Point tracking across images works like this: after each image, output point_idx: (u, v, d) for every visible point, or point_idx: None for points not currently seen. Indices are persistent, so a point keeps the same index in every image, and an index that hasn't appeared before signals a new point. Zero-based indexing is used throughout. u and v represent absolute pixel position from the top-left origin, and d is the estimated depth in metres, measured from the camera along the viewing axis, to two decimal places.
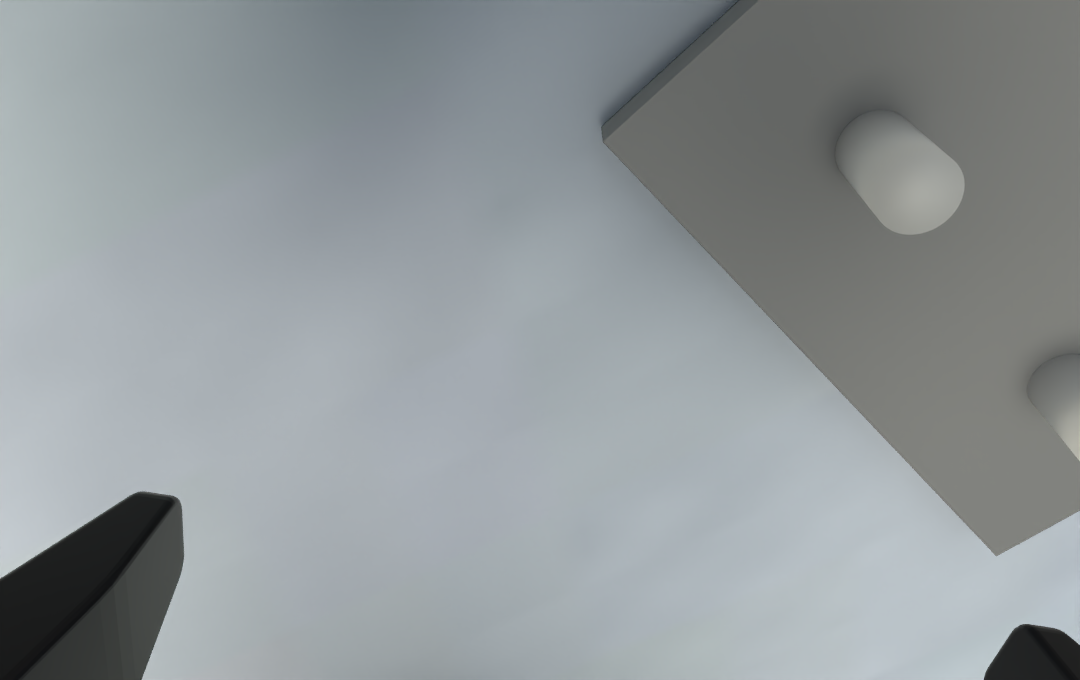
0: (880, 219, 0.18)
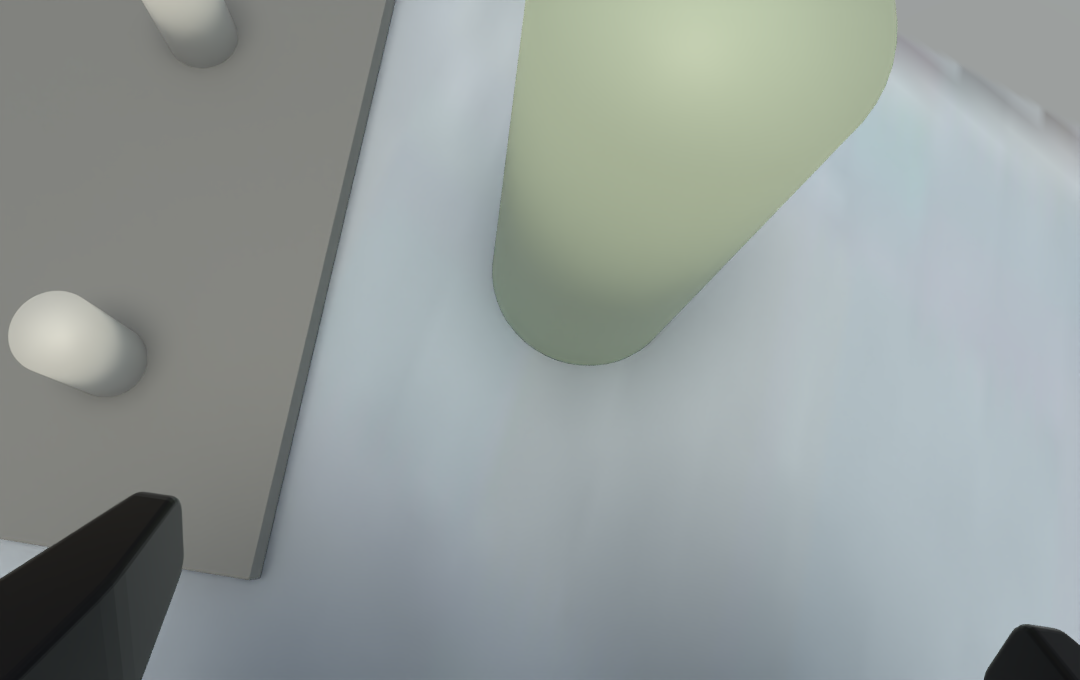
0: None
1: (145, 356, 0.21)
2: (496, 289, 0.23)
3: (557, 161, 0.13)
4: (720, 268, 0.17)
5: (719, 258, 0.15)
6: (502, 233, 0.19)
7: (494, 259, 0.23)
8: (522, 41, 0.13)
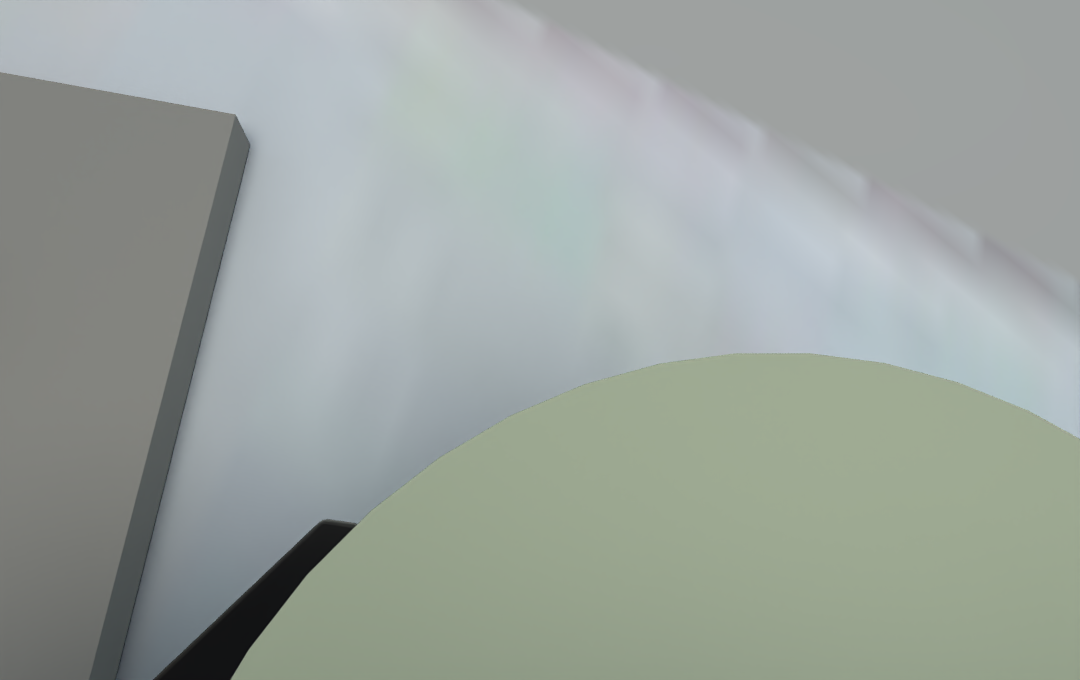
0: None
1: None
2: None
3: None
4: None
5: None
6: None
7: None
8: None
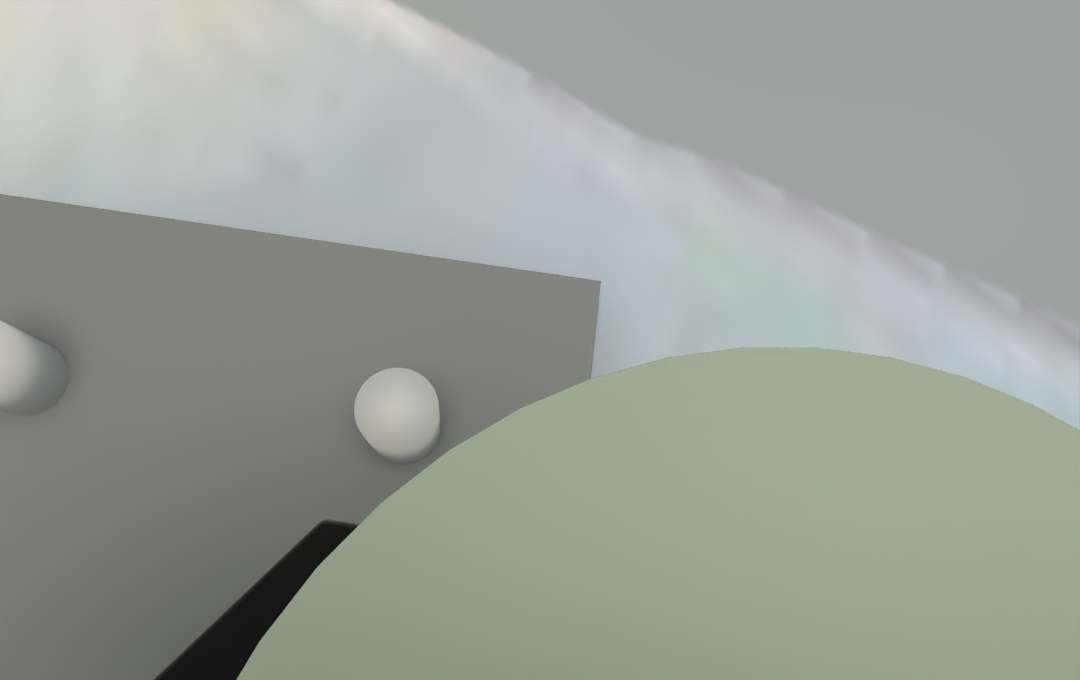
0: None
1: None
2: None
3: None
4: None
5: None
6: None
7: None
8: None
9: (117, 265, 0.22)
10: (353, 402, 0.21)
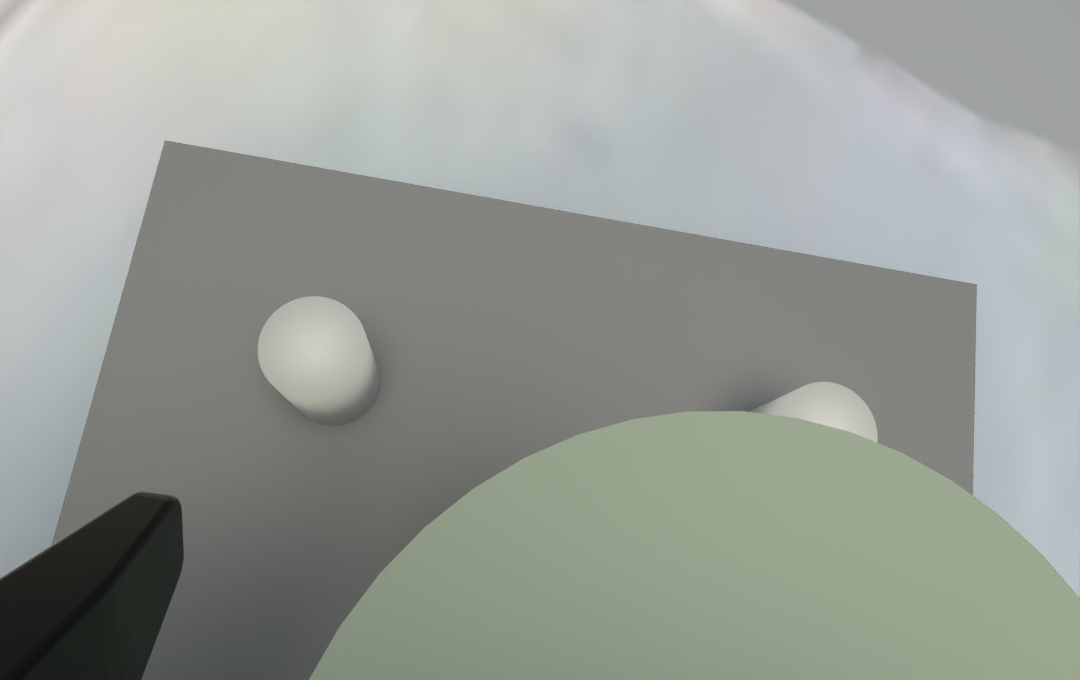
0: None
1: None
2: None
3: None
4: None
5: None
6: None
7: None
8: None
9: (428, 249, 0.18)
10: None
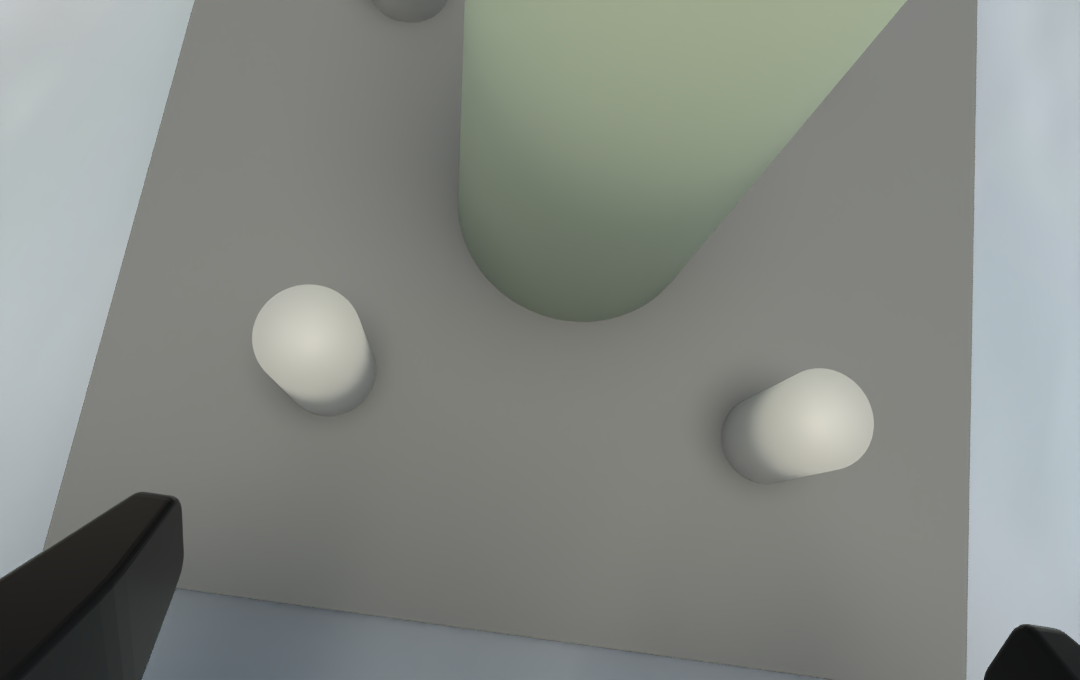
0: (294, 386, 0.14)
1: None
2: (463, 224, 0.18)
3: None
4: (775, 153, 0.12)
5: (785, 118, 0.10)
6: (465, 128, 0.14)
7: (459, 182, 0.17)
8: None
9: None
10: None
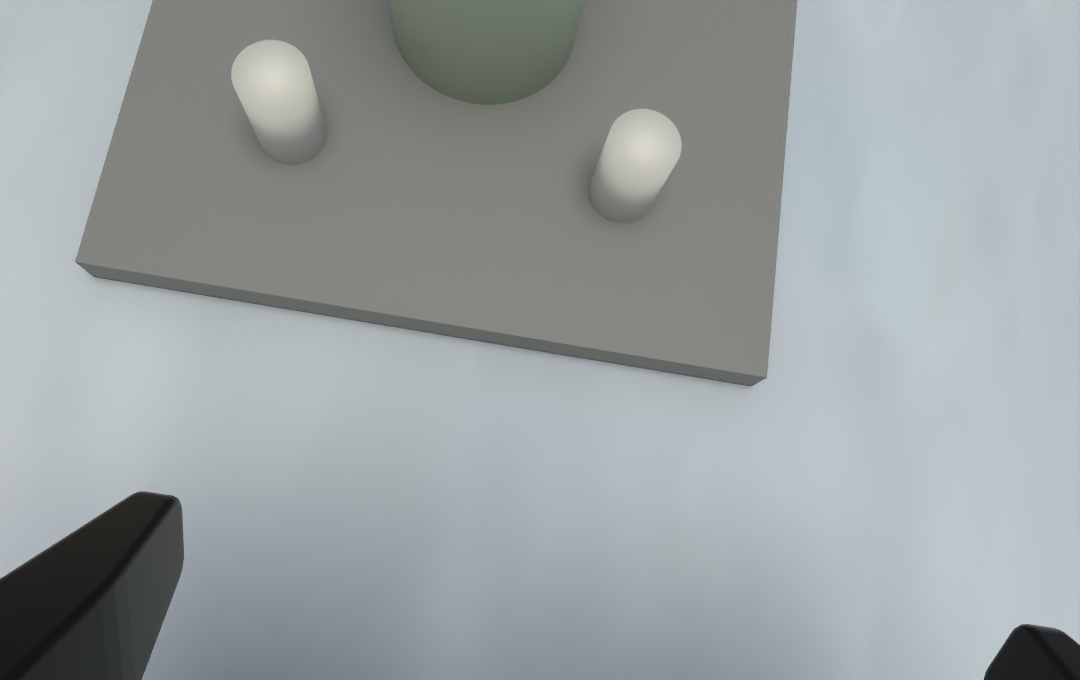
0: (260, 107, 0.20)
1: None
2: (394, 28, 0.24)
3: None
4: None
5: None
6: None
7: None
8: None
9: None
10: None
